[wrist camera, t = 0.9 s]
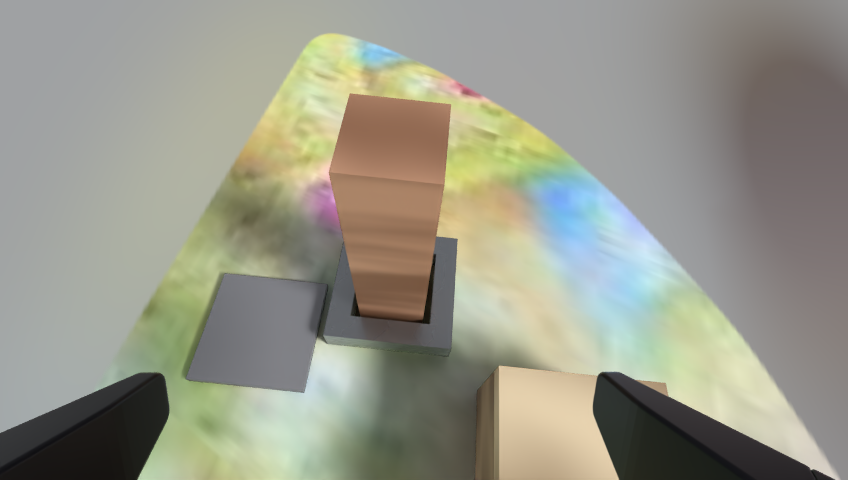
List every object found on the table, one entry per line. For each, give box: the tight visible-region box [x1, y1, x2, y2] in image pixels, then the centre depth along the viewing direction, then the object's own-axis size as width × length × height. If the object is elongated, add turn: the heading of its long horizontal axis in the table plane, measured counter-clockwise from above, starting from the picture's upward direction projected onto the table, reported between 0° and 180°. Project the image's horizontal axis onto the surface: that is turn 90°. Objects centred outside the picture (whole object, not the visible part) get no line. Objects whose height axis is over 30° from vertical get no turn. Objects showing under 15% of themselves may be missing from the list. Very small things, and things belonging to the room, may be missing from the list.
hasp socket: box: [323, 237, 457, 356], centre depth 24 cm, size 7×7×2 cm
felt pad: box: [186, 273, 328, 393], centre depth 23 cm, size 6×6×1 cm
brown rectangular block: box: [329, 94, 451, 323], centre depth 19 cm, size 4×4×13 cm
